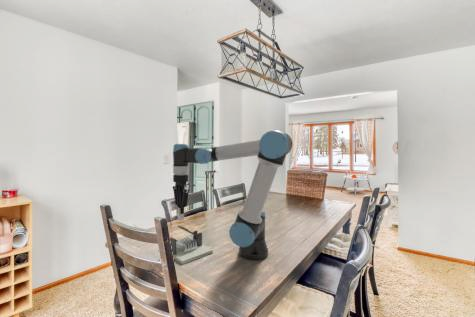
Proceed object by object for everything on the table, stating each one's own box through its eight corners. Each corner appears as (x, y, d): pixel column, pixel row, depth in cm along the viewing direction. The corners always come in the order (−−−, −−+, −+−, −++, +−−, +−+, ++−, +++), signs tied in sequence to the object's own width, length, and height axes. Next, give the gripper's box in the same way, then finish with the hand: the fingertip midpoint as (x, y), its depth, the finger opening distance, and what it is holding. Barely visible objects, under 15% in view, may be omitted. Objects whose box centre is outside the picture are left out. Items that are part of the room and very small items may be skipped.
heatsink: (197, 248, 125) (197, 241, 125) (184, 253, 120) (184, 245, 120) (188, 243, 132) (188, 236, 132) (175, 247, 126) (175, 240, 126)
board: (212, 252, 124) (212, 249, 124) (182, 264, 112) (182, 261, 112) (189, 240, 140) (189, 237, 140) (160, 249, 128) (160, 246, 128)
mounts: (202, 245, 130) (202, 232, 129) (174, 254, 118) (174, 240, 118) (196, 242, 133) (196, 230, 133) (169, 251, 122) (169, 237, 122)
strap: (199, 238, 130) (201, 235, 130) (180, 229, 121) (181, 225, 122) (196, 237, 132) (197, 234, 132) (177, 227, 123) (178, 224, 124)
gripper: (194, 174, 120) (194, 221, 121) (180, 172, 129) (180, 215, 131) (180, 176, 115) (181, 224, 116) (168, 173, 124) (168, 218, 125)
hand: (180, 219), depth 123 cm, fingers closed
